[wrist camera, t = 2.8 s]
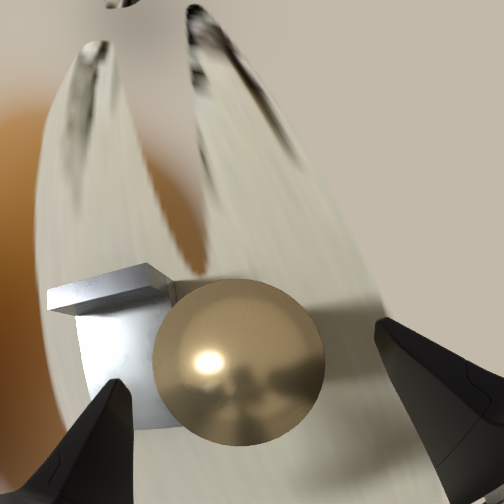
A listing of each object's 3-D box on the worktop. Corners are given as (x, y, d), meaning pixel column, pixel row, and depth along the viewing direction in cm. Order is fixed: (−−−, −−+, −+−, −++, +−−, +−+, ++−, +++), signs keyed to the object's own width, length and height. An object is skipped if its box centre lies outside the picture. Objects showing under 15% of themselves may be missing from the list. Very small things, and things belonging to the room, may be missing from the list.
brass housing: (302, 379, 16) (341, 422, 7) (225, 397, 16) (175, 455, 7) (283, 304, 18) (299, 260, 8) (206, 322, 18) (138, 299, 8)
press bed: (204, 418, 16) (184, 439, 12) (109, 425, 16) (73, 441, 12) (173, 280, 19) (146, 262, 14) (85, 301, 19) (46, 290, 14)
